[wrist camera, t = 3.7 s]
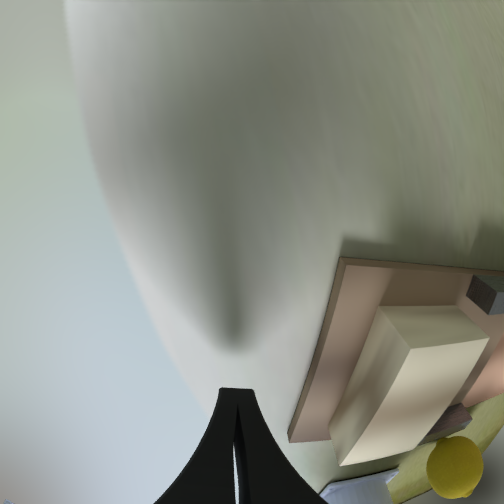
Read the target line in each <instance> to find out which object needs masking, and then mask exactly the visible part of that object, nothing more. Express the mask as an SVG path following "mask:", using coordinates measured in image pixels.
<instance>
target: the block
mask: <svg viewBox="0 0 504 504" xmlns="http://www.w3.org/2000/svg"><path fill="white" fill-rule="evenodd" d="M489 338H490V337H489V336H488V335H487V334H486V333H485V332H484V331H483V330H482V329H481V328H479V327H478V326H477V325H476V324H475V323H474V322H473V321H472V320H471V319H470V318H469V317H468V316H467V315H466V314H465V313H464V312H463V311H462V310H460V309H459V308H458V307H457V306H456V305H449V306H378V309H377V312H376V314H375V317H374V320H373V323H372V326H371V329H370V331H369V334H368V337H367V339H366V342H365V344H364V347H363V350H362V352H361V355H360V357H359V359H358V362H357V364H356V367H355V369H354V371H353V374H352V376H351V378H350V381H349V383H348V385H347V387H346V389H345V392H344V394H343V396H342V398H341V400H340V402H339V404H338V406H337V409H336V411H335V413H334V415H333V417H332V419H331V421H330V422H329V424H328V429H329V432H330V436H331V439H332V443H333V446H334V450H335V453H336V457H337V460H338V464H339V466H344V465H350V464H356V463H361V462H366V461H371V460H375V459H379V458H384V457H388V456H392V455H395V454H399V453H403V452H406V451H410V450H413V449H414V448H415V447H416V446H417V445H418V444H419V442H420V441H421V440H422V439H423V438H424V437H425V435H426V434H427V433H428V432H429V431H430V429H431V428H432V427H433V426H434V424H435V423H436V422H437V420H438V419H439V418H440V417H441V415H442V414H443V413H444V411H445V410H446V408H447V407H448V406H449V404H450V403H451V401H452V400H453V399H454V397H455V396H456V394H457V393H458V391H459V390H460V388H461V387H462V385H463V384H464V382H465V380H466V379H467V377H468V376H469V374H470V372H471V371H472V369H473V367H474V366H475V364H476V362H477V360H478V359H479V357H480V355H481V353H482V352H483V350H484V348H485V346H486V344H487V342H488V340H489Z"/></svg>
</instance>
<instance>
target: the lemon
mask: <svg viewBox="0 0 504 504" xmlns="http://www.w3.org/2000/svg"><path fill="white" fill-rule="evenodd" d="M426 471H427V477H428V480H429V483H430V485H431V486H432V488H433V489H434V490H435V491H436V493H438V494H439V495H440V496H442V497H445V498H450V499H452V498H459V497H468V496H469V495H470V494H471V493H472V491H473V489H474V488H475V486H476V485H477V484H478V482H479V480H480V478H481V476H482V473H483V459H482V456H481V453H480V451H479V449H478V447H477V446H476V444H475V443H474V442H473V441H471V440H470V439H468V438H466V437H463V436H454V437H451V438H445V437H442V438H440V439H439V440H438V441H437V444H436V447H435V448H434V450H433V451H432V452H431V454H430V456H429V458H428V461H427V467H426Z"/></svg>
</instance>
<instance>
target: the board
mask: <svg viewBox="0 0 504 504" xmlns="http://www.w3.org/2000/svg"><path fill="white" fill-rule="evenodd" d="M473 274H476V275H491V276H504V271H493V270H482V269H471V268H459V267H448V266H437V265H425V264H414V263H403V262H391V261H380V260H368V259H357V258H345V257H340V258H339V263H338V267H337V271H336V276H335V280H334V284H333V288H332V292H331V296H330V300H329V304H328V308H327V311H326V315H325V319H324V322H323V326H322V330H321V333H320V337H319V340H318V344H317V347H316V350H315V354H314V357H313V360H312V363H311V367H310V370H309V373H308V376H307V379H306V382H305V385H304V388H303V391H302V394H301V397H300V400H299V403H298V406H297V408H296V411H295V414H294V417H293V419H292V422H291V425H290V428H289V430H288V433H287V434H288V440H289V443H297V442H311V441H322V440H332V439H331V436H330V432H329V429H328V424H329V422H330V421H331V419H332V417H333V415H334V413H335V411H336V409H337V406H338V404H339V402H340V400H341V398H342V396H343V394H344V392H345V389H346V387H347V385H348V383H349V381H350V378H351V376H352V374H353V371H354V369H355V367H356V364H357V362H358V359H359V357H360V355H361V352H362V350H363V347H364V344H365V342H366V339H367V337H368V334H369V331H370V329H371V326H372V323H373V320H374V317H375V314H376V312H377V309H378V306H449V305H456V306H457V307H458V308H459V309H460V310H462V311H463V312H464V313H465V314H466V315H467V316H468V317H469V318H470V319H471V320H472V321H473V322H474V323H475V324H476V325H477V326H478V327H479V328H481V329H482V330H483V331H484V332H485V333H486V334H487V335H488V336H489V337H490V338H489V340H488V342H487V344H486V346H485V348H484V350H483V352H482V353H481V355H480V357H479V359H478V360H477V362H476V364H475V366H474V367H473V369H472V371H471V372H470V374H469V376H468V377H467V379H466V380H465V382H464V384H463V385H462V387H461V388H460V390H459V391H458V393H457V394H456V396H455V397H454V399H453V400H452V401H451V403H450V404H449V406H452V405H455V404H458V403H461V402H462V404H463V405H464V407H465V408H468V407H470V406H473V405H475V404H478V403H481V402H483V401H485V400H488V399H490V398H492V397H495V396H497V395H499V394H501V393H504V314H497V315H487V314H486V313H485V312H484V311H483V310H482V309H480V308H479V307H478V306H477V305H476V304H475V303H474V302H472V301H471V300H470V299H469V298H468V297H466V293H467V291H468V288H469V285H470V282H471V280H472V277H473ZM449 406H448V407H449Z"/></svg>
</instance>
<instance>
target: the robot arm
mask: <svg viewBox="0 0 504 504" xmlns="http://www.w3.org/2000/svg"><path fill="white" fill-rule="evenodd" d="M233 446H234V449H235V458H236V466H237V475H238V486H239V504H393V502H392V499H391V496H390V493H389V490H388V487H387V485H386V484H387V483H388V482H389V481H390V480H391V479H392V478H393V477H394V476H395V475H396V474H397V473H399V469H398V468H397V469H393V470H389V471H386V472H382V473H378V474H374V475H370V476H365V477H361V478H356V479H351V480H346V481H340V482H334V483H331V484H329V485H328V486H327V487H326V488H325V489H324V490H323V491H322V493H321V494H320V495H319V494H317V493H316V492H315V491H314V490H313V489H312V488H311V487H310V486H309V485H308V483H307V482H306V481H305V480H304V479H303V478H302V477H301V476H300V475H299V474H298V472H297V471H296V470H295V469H294V467H293V466H292V465H291V464H290V462H289V461H288V460H287V458H286V457H285V455H284V454H283V452H282V451H281V449H280V448H279V446H278V444H277V443H276V441H275V439H274V438H273V436H272V434H271V432H270V430H269V428H268V426H267V424H266V422H265V420H264V418H263V416H262V413H261V411H260V408H259V406H258V403H257V400H256V397H255V393H254V390H252V389H240V388H223V387H222V388H220V389H219V394H218V399H217V403H216V406H215V409H214V412H213V415H212V417H211V420H210V422H209V425H208V427H207V429H206V431H205V433H204V436H203V437H202V439H201V441H200V443H199V445H198V447H197V449H196V450H195V452H194V454H193V455H192V457H191V458H190V460H189V462H188V463H187V465H186V466H185V467H184V469H183V470H182V472H181V473H180V474H179V476H178V477H177V478H176V479H175V481H174V482H173V483H172V484H171V486H170V487H169V488H168V489H167V490H166V491H165V492H164V494H163V495H162V496H161V497H160V498H159V499H158V500H157V501H156V502H155V503H154V504H236V500H235V483H234V460H233ZM4 504H14V503H12V502H11V501H9V500H7V499H5V501H4Z"/></svg>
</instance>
